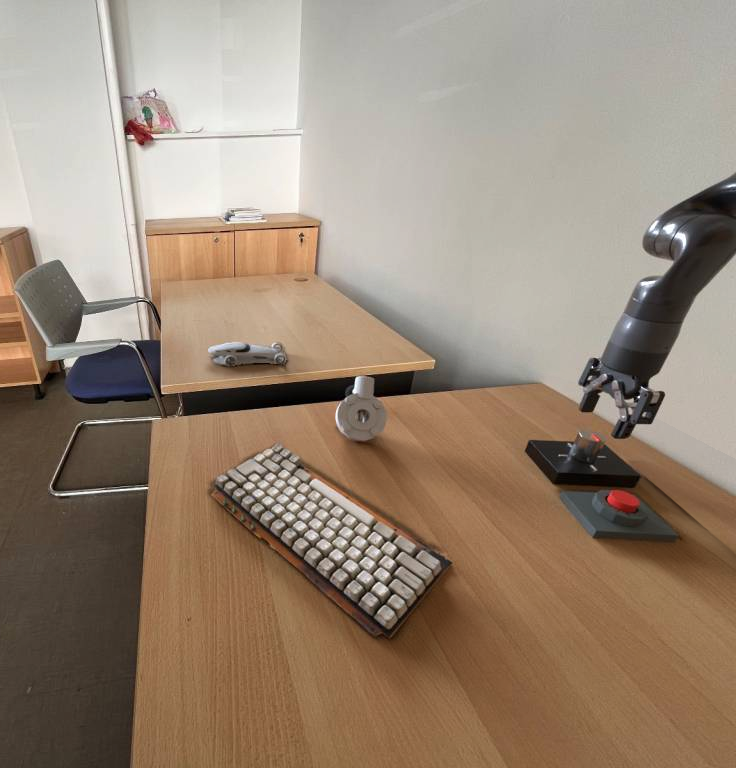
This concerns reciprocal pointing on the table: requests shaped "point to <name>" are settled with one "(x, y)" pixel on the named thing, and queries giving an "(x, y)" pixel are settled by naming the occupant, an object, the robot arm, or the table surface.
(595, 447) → the knob
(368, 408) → the mechanical valve
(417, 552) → the mechanical keyboard
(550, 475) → the panel
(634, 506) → the button
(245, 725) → the table surface
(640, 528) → the button box
